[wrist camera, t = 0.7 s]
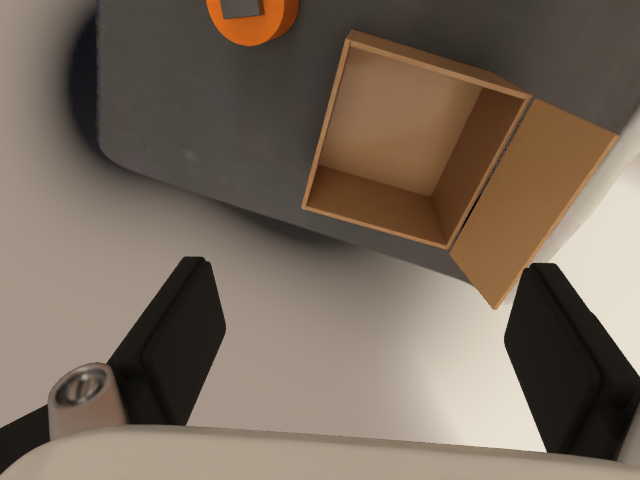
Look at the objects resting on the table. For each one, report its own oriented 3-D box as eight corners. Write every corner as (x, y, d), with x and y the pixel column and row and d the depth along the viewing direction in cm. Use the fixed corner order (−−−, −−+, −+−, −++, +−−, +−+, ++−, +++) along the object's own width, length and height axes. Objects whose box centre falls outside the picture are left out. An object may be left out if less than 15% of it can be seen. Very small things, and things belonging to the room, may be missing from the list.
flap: (616, 134, 21) (620, 135, 21) (534, 98, 26) (538, 99, 26) (493, 309, 28) (496, 309, 29) (448, 254, 34) (451, 254, 34)
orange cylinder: (227, -36, 33) (188, -45, 26) (294, -44, 33) (272, -57, 25) (240, 41, 36) (209, 51, 29) (302, 35, 36) (285, 44, 28)
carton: (351, 28, 35) (345, 38, 26) (492, 72, 36) (533, 95, 27) (314, 165, 42) (300, 208, 34) (432, 199, 43) (448, 250, 34)
